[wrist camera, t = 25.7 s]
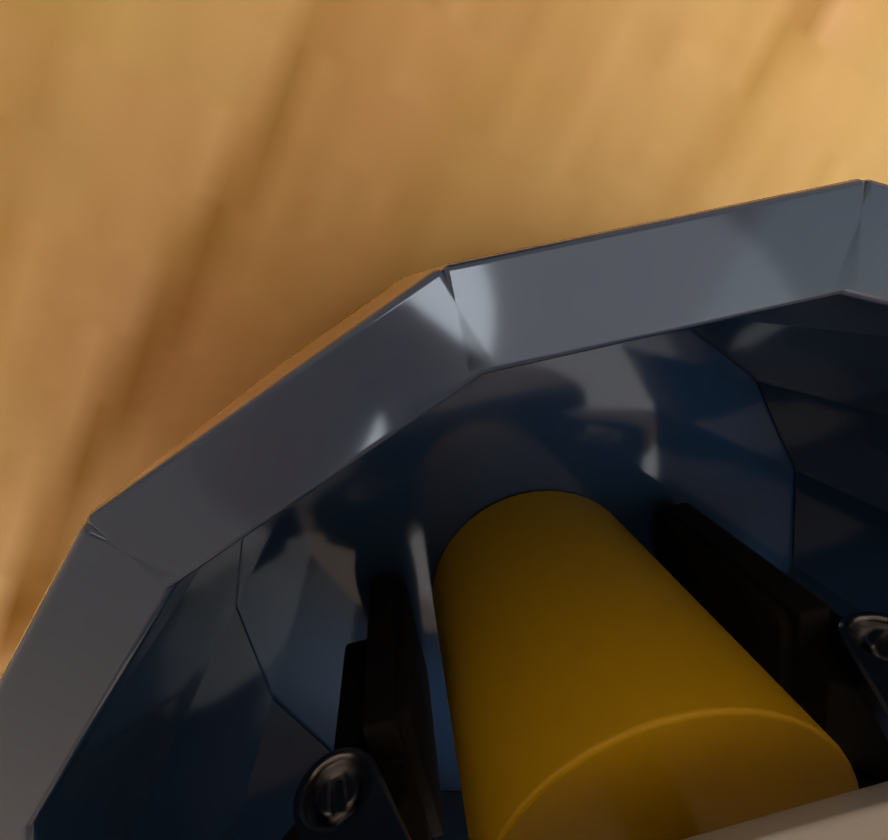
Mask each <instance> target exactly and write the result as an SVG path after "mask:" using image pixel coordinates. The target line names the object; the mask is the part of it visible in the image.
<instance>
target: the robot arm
mask: <svg viewBox="0 0 888 840" xmlns="http://www.w3.org/2000/svg"><path fill="white" fill-rule="evenodd" d="M656 532H657V546H658V561H659V563H660V564H661V565H662V566H663V567H664V568H665V569H666V570H667V571H668V572H669V573H670V574H671V575H672V576H673V577H674V578H675V579H676V580H677V581H678V582H679V583H680V584H681V585H682V586H683V587H684V588H685V589H686V590H687V591H688V592H689V593H690V594H691V595H692V596H693V597H694V598H695V599H696V600H697V601H698V603H699V604H700V605H701V606H702V607H703V608H704V609H705V610H706V611H707V612H708V613H709V614H710V615H711V616H712V617H713V618H714V619H715V620H716V621H717V622H718V623H719V624H720V625H721V626H722V627H723V628H724V629H725V630H726V631H727V632H728V633H729V634H730V635H731V636H732V637H733V638H734V639H735V640H736V641H737V642H738V643H739V644H740V645H741V646H742V647H743V648H744V649H745V650H746V652H747V653H748V654H749V655H750V656H751V657H752V658H753V659H754V660H755V661H756V662H757V663H758V664H759V665H760V666H761V667H762V668H763V669H764V670H765V671H766V672H767V673H768V674H769V675H770V676H771V677H772V678H773V679H774V680H775V681H776V682H777V683H778V684H779V685H780V686H781V687H782V688H783V689H784V690H785V691H786V692H787V693H788V694H789V695H790V696H791V697H792V698H793V699H794V701H795V702H796V703H797V704H798V705H799V706H800V707H801V708H802V709H803V710H804V711H805V712H806V713H807V714H808V715H809V716H810V717H811V718H812V719H813V720H814V721H815V722H816V723H817V724H818V725H819V726H820V727H821V728H822V729H823V730H824V731H825V732H826V733H827V734H828V735H829V736H830V737H831V738H832V739H833V740H834V741H835V742H836V743H837V744H838V745H839V747H840V748H841V750H842V751H843V753H844V754H845V756H846V757H847V759H848V760H849V762H850V764H851V766H852V769H853V771H854V774H855V776H856V779H857V781H858V787H859V789H858V790H854V791H851V792H847V793H843V794H840V795H836V796H833V797H829V798H826V799H822V800H818V801H815V802H811V803H808V804H804V805H801V806H797V807H794V808H790V809H787V810H783V811H780V812H776V813H773V814H769V815H766V816H762V817H759V818H755V819H752V820H748V821H745V822H741V823H738V824H734V825H731V826H727V827H724V828H720V829H717V830H713V831H710V832H707V833H703V834H700V835H696V836H693V837H689V838H686V839H682V840H888V614H886V613H879V612H871V611H865V612H854V613H851V614H848V615H845V616H844V617H843V618H842V617H841V616H840V615H838V614H837V613H835V612H834V611H833V610H831V609H830V606H829V605H828V604H826V603H825V602H823V601H822V600H821V599H819V598H818V597H817V596H815V595H814V594H812V593H811V592H810V591H808V590H807V589H806V588H804V587H803V586H801V585H800V584H799V583H797V582H796V581H795V580H793V579H792V578H790V577H789V576H788V575H786V574H785V573H784V572H782V571H781V570H779V569H778V568H777V567H775V566H774V565H773V564H771V563H770V562H768V561H767V560H766V559H764V558H763V557H762V556H760V555H759V554H757V553H756V552H755V551H753V550H752V549H751V548H749V547H748V546H746V545H745V544H744V543H742V542H741V541H740V540H738V539H737V538H735V537H734V536H733V535H731V534H730V533H729V532H727V531H726V530H724V529H723V528H722V527H720V526H719V525H718V524H716V523H715V522H713V521H712V520H711V519H709V518H708V517H707V516H705V515H704V514H702V513H701V512H700V511H698V510H697V509H696V508H694V507H693V506H691V505H690V504H688V503H680V504H676V505H672V506H668V507H664V508H663V509H662V510H661V514H660V515H657V517H656ZM293 814H294V821H295V824H294V825H293V826H292V827H291V829H290V830H289V831H288V832H287V833H286V834H285V836H284V837H283V838H282V839H281V840H435V837H438V836H441V835H445V827H444V817H443V808H442V798H441V789H440V780H439V770H438V761H437V752H436V743H435V733H434V724H433V715H432V706H431V696H430V687H429V678H428V672H427V667H426V663H425V659H424V655H423V651H422V648H421V644H420V640H419V636H418V633H417V629H416V625H415V621H414V617H413V614H412V610H411V606H410V602H409V599H408V595H407V591H406V587H405V583H404V580H403V578H399V579H395V577H394V575H393V574H390V575H385V576H381V577H377V578H373V579H371V580H370V593H369V612H368V631H367V639H365V640H361V641H357V642H353V643H349V644H347V645H346V648H345V654H344V663H343V671H342V680H341V689H340V698H339V707H338V716H337V725H336V734H335V743H334V751H332V752H330V753H328V754H326V755H324V756H323V757H322V758H320V759H319V760H318V761H317V762H316V763H314V764H313V765H312V766H311V768H310V769H309V770H308V771H307V773H306V774H305V775H304V776H303V778H302V780H301V782H300V784H299V786H298V788H297V790H296V794H295V798H294V802H293Z"/></svg>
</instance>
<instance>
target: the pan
mask: <svg viewBox="0 0 888 840" xmlns="http://www.w3.org/2000/svg"><path fill="white" fill-rule="evenodd" d="M534 491H559V492H566V493H571V494H576V495H579V496H582V497H585V498H588V499H590V500H592V501H594V502H596V503H597V504H599V505H601V506H602V507H604V508H605V509H606V510H608V511H609V512H610V513H611V514H612V515H613V516H614V517H615V518H616V519H617V520H618V521H619V522H620V523H621V524H622V525H623V526H624V527H625V528H626V529H627V530H628V531H629V532H630V533H631V534H632V535H633V536H634V537H635V538H636V539H637V540H638V541H639V542H640V543H641V544H642V545H643V546H644V547H645V548H646V549H647V550H648V551H649V552H650V554H651V555H652V556H653V557H654V558H655V559H656V560H657V561H658V546H657V532H656V517H657V515H660V514H661V510H662V509H663V508H664V507H668V506H672V505H676V504H680V503H688V504H690V505H691V506H693V507H694V508H696V509H697V510H698V511H700V512H701V513H702V514H704V515H705V516H707V517H708V518H709V519H711V520H712V521H713V522H715V523H716V524H718V525H719V526H720V527H722V528H723V529H724V530H726V531H727V532H729V533H730V534H731V535H733V536H734V537H735V538H737V539H738V540H740V541H741V542H742V543H744V544H745V545H746V546H748V547H749V548H751V549H752V550H753V551H755V552H756V553H757V554H759V555H760V556H762V557H763V558H764V559H766V560H767V561H768V562H770V563H771V564H773V565H774V566H775V567H777V568H778V569H779V570H781V571H782V572H784V573H785V574H786V575H788V576H789V577H790V578H792V579H793V580H795V581H796V582H797V583H799V584H800V585H801V586H803V587H804V588H806V589H807V590H808V591H810V592H811V593H812V594H814V595H815V596H817V597H818V598H819V599H821V600H822V601H823V602H825V603H826V604H828V605H829V606H830V609H831V610H833V611H834V612H835V613H837V614H838V615H840V616H841V617H842V618H843V617H844V616H845V615H848V614H851V613H854V612H865V611H871V612H879V613H886V614H888V185H886V184H883V183H879V182H876V181H872V180H859V179H854V180H849V181H844V182H840V183H835V184H830V185H825V186H820V187H815V188H811V189H806V190H801V191H796V192H791V193H787V194H782V195H777V196H772V197H767V198H763V199H758V200H753V201H748V202H743V203H739V204H734V205H729V206H724V207H719V208H714V209H710V210H705V211H700V212H695V213H690V214H686V215H681V216H676V217H671V218H666V219H662V220H657V221H652V222H647V223H642V224H637V225H633V226H628V227H623V228H618V229H613V230H609V231H604V232H599V233H594V234H589V235H585V236H580V237H575V238H570V239H565V240H561V241H556V242H551V243H546V244H541V245H536V246H532V247H527V248H522V249H517V250H512V251H508V252H503V253H498V254H493V255H488V256H484V257H479V258H474V259H469V260H464V261H459V262H455V263H450V264H446V265H443V266H439V267H436V268H433V269H429V270H426V271H423V272H419V273H416V274H413V275H409V276H406V277H405V278H402V279H400V280H399V281H398V282H396V283H395V284H393V285H392V286H390V287H389V288H388V289H386V290H385V291H383V292H382V293H381V294H379V295H378V296H376V297H375V298H374V299H372V300H371V301H369V302H368V303H366V304H365V305H364V306H362V307H361V308H359V309H358V310H357V311H355V312H354V313H352V314H351V315H350V316H348V317H347V318H345V319H344V320H342V321H341V322H340V323H338V324H337V325H335V326H334V327H333V328H331V329H330V330H328V331H327V332H326V333H324V334H323V335H321V336H320V337H319V338H317V339H316V340H314V341H313V342H311V343H310V344H309V345H307V346H306V347H304V348H303V349H302V350H300V351H299V352H297V353H296V354H295V355H293V356H292V357H290V358H289V359H287V360H286V361H285V362H283V363H282V364H280V365H279V366H278V367H277V368H275V369H274V370H273V371H271V372H270V373H269V374H268V375H266V376H265V377H264V378H262V379H261V380H260V381H259V382H257V383H256V384H255V385H254V386H252V387H251V388H250V389H248V390H247V391H246V392H245V393H243V394H242V395H241V396H239V397H238V398H237V399H236V400H234V401H233V402H232V403H230V404H229V405H228V406H227V407H225V408H224V409H223V410H221V411H220V412H219V413H218V414H216V415H215V416H214V417H212V418H211V419H210V420H209V421H207V422H206V423H205V424H204V425H202V426H201V427H200V428H198V429H197V430H196V431H195V432H193V433H192V434H191V435H189V436H188V437H187V438H186V439H184V440H183V441H182V442H180V443H179V444H178V445H177V446H175V447H174V448H173V449H171V450H170V451H169V452H168V453H166V454H165V455H164V456H162V457H161V458H160V459H159V460H157V461H156V462H155V463H154V464H152V465H151V466H150V467H148V468H147V469H146V470H145V471H143V472H142V473H141V474H139V475H138V476H137V477H136V478H134V479H133V480H132V481H130V482H129V483H128V484H127V485H125V486H124V487H123V488H121V489H120V490H119V491H118V492H116V493H115V494H114V495H112V496H111V497H110V498H109V499H107V500H106V501H105V502H104V503H102V504H101V505H100V506H98V507H97V508H96V509H95V510H93V511H92V512H91V513H90V515H89V517H88V519H87V521H86V522H85V523H84V524H82V526H81V528H80V530H79V531H78V533H77V535H76V537H75V539H74V541H73V543H72V544H71V546H70V548H69V550H68V552H67V554H66V556H65V557H64V559H63V561H62V563H61V565H60V567H59V569H58V571H57V572H56V574H55V576H54V578H53V580H52V582H51V584H50V585H49V587H48V589H47V591H46V593H45V595H44V597H43V598H42V600H41V602H40V604H39V606H38V608H37V610H36V611H35V613H34V615H33V617H32V619H31V621H30V623H29V624H28V626H27V628H26V630H25V632H24V634H23V636H22V638H21V639H20V641H19V643H18V645H17V647H16V649H15V651H14V652H13V654H12V656H11V658H10V660H9V662H8V664H7V665H6V667H5V669H4V671H3V673H2V675H1V677H0V840H281V839H282V838H283V837H284V836H285V834H286V833H287V832H288V831H289V830H290V829H291V827H292V826H293V825H294V824H295V821H294V814H293V802H294V798H295V794H296V790H297V788H298V786H299V784H300V782H301V780H302V778H303V776H304V775H305V774H306V773H307V771H308V770H309V769H310V768H311V766H312V765H313V764H314V763H316V762H317V761H318V760H319V759H320V758H322V757H323V756H324V755H326V754H328V753H330V752H332V751H334V743H335V734H336V725H337V716H338V707H339V698H340V689H341V680H342V671H343V663H344V654H345V648H346V645H347V644H349V643H353V642H357V641H361V640H365V639H367V631H368V612H369V593H370V580H371V579H373V578H377V577H381V576H385V575H390V574H393V575H394V577H395V579H399V578H403V580H404V583H405V587H406V591H407V595H408V599H409V602H410V606H411V610H412V614H413V617H414V621H415V625H416V629H417V633H418V636H419V640H420V644H421V648H422V651H423V655H424V659H425V663H426V667H427V672H428V678H429V687H430V696H431V706H432V715H433V724H434V733H435V743H436V752H437V761H438V770H439V780H440V789H441V798H442V808H443V817H444V827H445V835H441V836H438V837H435V840H469V837H468V830H467V824H466V817H465V810H464V804H463V797H462V790H461V784H460V777H459V770H458V764H457V757H456V750H455V744H454V737H453V730H452V724H451V717H450V710H449V704H448V697H447V691H446V684H445V677H444V671H443V664H442V657H441V651H440V644H439V637H438V631H437V624H436V617H435V611H434V604H433V584H434V577H435V573H436V570H437V566H438V563H439V561H440V559H441V557H442V554H443V552H444V551H445V549H446V547H447V546H448V544H449V543H450V541H451V539H452V538H453V537H454V536H455V535H456V533H457V532H458V531H459V530H460V529H461V528H462V527H463V526H464V525H465V524H466V523H467V522H468V521H469V520H470V519H471V518H473V517H474V516H475V515H477V514H478V513H479V512H481V511H482V510H484V509H486V508H487V507H489V506H491V505H493V504H494V503H497V502H499V501H501V500H504V499H506V498H509V497H512V496H516V495H519V494H523V493H529V492H534ZM658 562H659V561H658Z"/></svg>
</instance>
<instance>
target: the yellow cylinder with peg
mask: <svg viewBox="0 0 888 840" xmlns="http://www.w3.org/2000/svg"><path fill="white" fill-rule="evenodd" d="M433 604H434V611H435V617H436V624H437V631H438V637H439V644H440V651H441V657H442V664H443V671H444V677H445V684H446V691H447V697H448V704H449V710H450V717H451V724H452V730H453V737H454V744H455V750H456V757H457V764H458V770H459V777H460V784H461V790H462V797H463V804H464V810H465V817H466V824H467V830H468V837H469V840H682V839H686V838H689V837H693V836H696V835H700V834H703V833H707V832H710V831H713V830H717V829H720V828H724V827H727V826H731V825H734V824H738V823H741V822H745V821H748V820H752V819H755V818H759V817H762V816H766V815H769V814H773V813H776V812H780V811H783V810H787V809H790V808H794V807H797V806H801V805H804V804H808V803H811V802H815V801H818V800H822V799H826V798H829V797H833V796H836V795H840V794H843V793H847V792H851V791H854V790H858V789H859V787H858V781H857V779H856V776H855V774H854V771H853V769H852V766H851V764H850V762H849V760H848V759H847V757H846V756H845V754H844V753H843V751H842V750H841V748H840V747H839V745H838V744H837V743H836V742H835V741H834V740H833V739H832V738H831V737H830V736H829V735H828V734H827V733H826V732H825V731H824V730H823V729H822V728H821V727H820V726H819V725H818V724H817V723H816V722H815V721H814V720H813V719H812V718H811V717H810V716H809V715H808V714H807V713H806V712H805V711H804V710H803V709H802V708H801V707H800V706H799V705H798V704H797V703H796V702H795V701H794V699H793V698H792V697H791V696H790V695H789V694H788V693H787V692H786V691H785V690H784V689H783V688H782V687H781V686H780V685H779V684H778V683H777V682H776V681H775V680H774V679H773V678H772V677H771V676H770V675H769V674H768V673H767V672H766V671H765V670H764V669H763V668H762V667H761V666H760V665H759V664H758V663H757V662H756V661H755V660H754V659H753V658H752V657H751V656H750V655H749V654H748V653H747V652H746V650H745V649H744V648H743V647H742V646H741V645H740V644H739V643H738V642H737V641H736V640H735V639H734V638H733V637H732V636H731V635H730V634H729V633H728V632H727V631H726V630H725V629H724V628H723V627H722V626H721V625H720V624H719V623H718V622H717V621H716V620H715V619H714V618H713V617H712V616H711V615H710V614H709V613H708V612H707V611H706V610H705V609H704V608H703V607H702V606H701V605H700V604H699V603H698V601H697V600H696V599H695V598H694V597H693V596H692V595H691V594H690V593H689V592H688V591H687V590H686V589H685V588H684V587H683V586H682V585H681V584H680V583H679V582H678V581H677V580H676V579H675V578H674V577H673V576H672V575H671V574H670V573H669V572H668V571H667V570H666V569H665V568H664V567H663V566H662V565H661V564H660V563H659V562H658V561H657V560H656V559H655V558H654V557H653V556H652V555H651V554H650V552H649V551H648V550H647V549H646V548H645V547H644V546H643V545H642V544H641V543H640V542H639V541H638V540H637V539H636V538H635V537H634V536H633V535H632V534H631V533H630V532H629V531H628V530H627V529H626V528H625V527H624V526H623V525H622V524H621V523H620V522H619V521H618V520H617V519H616V518H615V517H614V516H613V515H612V514H611V513H610V512H609V511H608V510H606V509H605V508H604V507H602V506H601V505H599V504H597V503H596V502H594V501H592V500H590V499H588V498H585V497H582V496H579V495H576V494H571V493H566V492H559V491H534V492H529V493H523V494H519V495H516V496H512V497H509V498H506V499H504V500H501V501H499V502H497V503H494V504H493V505H491V506H489V507H487V508H486V509H484V510H482V511H481V512H479V513H478V514H477V515H475V516H474V517H473V518H471V519H470V520H469V521H468V522H467V523H466V524H465V525H464V526H463V527H462V528H461V529H460V530H459V531H458V532H457V533H456V535H455V536H454V537H453V538H452V539H451V541H450V543H449V544H448V546H447V547H446V549H445V551H444V552H443V554H442V557H441V559H440V561H439V563H438V566H437V570H436V573H435V577H434V584H433Z"/></svg>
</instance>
